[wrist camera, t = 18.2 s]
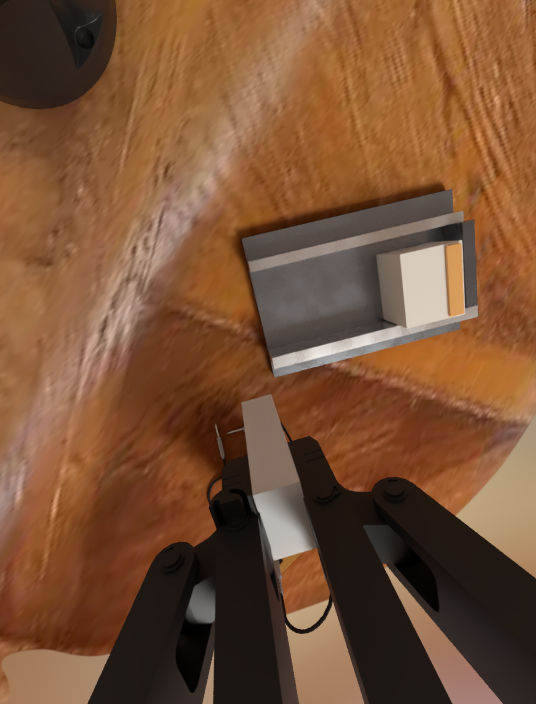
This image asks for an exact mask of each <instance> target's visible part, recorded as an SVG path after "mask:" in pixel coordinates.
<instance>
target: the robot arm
mask: <svg viewBox="0 0 536 704" xmlns="http://www.w3.org/2000/svg"><path fill="white" fill-rule="evenodd" d="M116 24H117V15H116V4H115V0H0V101H3V102H5V103H8V104H12V105H15V106H19V107H25V108H34V109H43V108H52V107H57V106H61V105H64V104H67V103H69V102H72V101H74V100H76V99H77V98H79V97H80V96H82V95H83V94H85V93H86V92H87V91H88V90H89V89H90V88H91V87H92V86H93V85H94V84H95V83H96V82H97V81H98V79H99V78H100V77H101V75H102V74H103V72H104V70H105V68H106V66H107V64H108V62H109V60H110V57H111V54H112V50H113V47H114V42H115V36H116ZM241 403H242V411H243V419H244V428H245V436H246V444H247V452H248V455H246V456H243V457H239V458H236V459H232V460H229V461H227V462H226V464H225V466H224V468H223V469H222V490H221V491H220V492H219V493H217V494H216V495H215V496H214V497H213V499H212V500H211V502H210V505H209V510H210V513H211V515H212V518H213V520H214V523H215V526H216V528H217V530H216V531H215V532H214V533H213V534H212V535H211V536H210V537H209V538H208V539H206V540H205V541H203V542H202V543H200V544H198V545H197V546H195V547H193V546H192V545H190V544H189V543H187V542H177V543H173V544H171V545H169V546H168V547H166V548H164V549H163V550H162V551H161V552H160V553H159V554H158V555H157V556H156V557H155V559H154V560H153V562H152V564H151V566H150V568H149V570H148V572H147V575H146V577H145V579H144V581H143V583H142V585H141V588H140V590H139V592H138V594H137V596H136V599H135V601H134V603H133V605H132V607H131V610H130V612H129V614H128V616H127V618H126V620H125V623H124V625H123V627H122V629H121V631H120V634H119V636H118V638H117V640H116V642H115V645H114V647H113V649H112V651H111V653H110V656H109V658H108V660H107V662H106V664H105V667H104V669H103V671H102V673H101V675H100V677H99V680H98V682H97V684H96V686H95V689H94V691H93V693H92V695H91V697H90V699H89V701H88V704H202V702H203V698H204V693H205V689H206V684H207V679H208V674H209V670H210V665H211V661H212V656H213V652H214V691H213V695H214V696H213V704H299V701H298V695H297V690H296V684H295V678H294V672H293V666H292V660H291V654H290V648H289V642H288V636H287V631H286V625H285V619H284V613H283V607H282V601H281V595H280V589H279V583H278V577H277V574H276V571H275V568H274V564H273V560H274V561H275V560H278V559H281V558H285V557H288V556H291V555H294V554H298V553H301V552H304V551H307V550H311V549H314V548H317V550H318V553H319V557H320V561H321V565H322V568H323V572H324V576H325V580H326V581H327V584H328V587H329V590H330V593H331V597H332V600H333V603H334V606H335V609H336V613H337V616H338V619H339V623H340V626H341V629H342V632H343V635H344V639H345V642H346V645H347V648H348V652H349V655H350V658H351V661H352V665H353V668H354V671H355V674H356V677H357V681H358V684H359V687H360V690H361V693H362V697H363V700H364V703H365V704H452V702H451V700H450V698H449V697H448V694H447V692H446V690H445V688H444V686H443V684H442V683H441V680H440V678H439V676H438V675H437V672H436V670H435V669H434V666H433V664H432V662H431V660H430V659H429V657H428V655H427V653H426V650H425V648H424V646H423V644H422V642H421V640H420V638H419V636H418V634H417V633H416V631H415V629H414V627H413V625H412V623H411V621H410V619H409V617H408V615H407V613H406V611H405V609H404V607H403V605H402V603H401V601H400V599H399V597H398V595H397V593H396V591H395V589H394V587H393V585H392V583H391V581H390V579H389V577H388V575H387V573H386V571H385V569H384V567H383V565H382V564H387V566H388V568H389V569H390V570H391V571H392V572H393V574H394V575H395V576H396V577H397V578H398V580H399V581H400V582H401V583H402V584H403V585H404V587H405V588H406V589H407V590H408V591H409V593H410V594H411V595H412V596H413V597H414V598H415V600H416V601H417V602H418V603H419V604H420V606H421V607H422V608H423V609H424V610H425V612H426V613H427V614H428V615H429V616H430V617H431V619H432V620H433V621H434V622H435V623H436V625H437V626H438V627H439V628H440V629H441V631H442V632H443V633H444V634H445V635H446V637H447V638H448V639H449V640H450V641H451V642H452V643H453V645H454V646H455V647H456V648H457V649H458V650H459V652H460V653H461V654H462V655H463V657H464V658H465V659H466V660H467V661H468V663H469V664H470V665H471V666H472V667H473V668H474V670H475V671H476V672H477V673H478V674H479V676H480V677H481V678H482V679H483V680H484V682H485V683H486V684H487V685H488V686H489V688H490V689H491V690H492V691H493V692H494V693H495V695H496V696H497V697H498V698H499V699H500V701H501V702H502V703H503V704H536V578H535V577H533V576H532V575H531V574H529V573H528V572H527V571H525V570H524V569H523V568H522V567H520V566H519V565H518V564H516V563H515V562H514V561H512V560H511V559H510V558H509V557H507V556H506V555H505V554H503V553H502V552H501V551H500V550H498V549H497V548H496V547H495V546H493V545H492V544H491V543H489V542H488V541H487V540H486V539H484V538H483V537H482V536H480V535H479V534H478V533H476V532H475V531H474V530H473V529H471V528H470V527H469V526H467V525H466V524H465V523H464V522H462V521H461V520H460V519H458V518H457V517H456V516H454V515H453V514H452V513H451V512H449V511H448V510H447V509H445V508H444V507H443V506H442V505H440V504H439V503H438V502H436V501H435V500H434V499H433V498H431V497H430V496H429V495H427V494H426V493H425V492H423V491H422V490H421V489H420V488H418V487H417V486H416V485H414V484H413V483H412V482H410V481H408V480H406V479H403V478H398V477H388V478H385V479H382V480H380V481H378V482H377V483H376V484H375V485H374V487H373V489H372V492H354V491H350V490H347V489H345V488H343V487H342V486H341V484H339V483H338V482H337V480H336V478H335V476H334V474H333V472H332V470H331V468H330V466H329V464H328V462H327V460H326V458H325V456H324V454H323V451H322V450H321V447H320V445H319V443H318V441H316V440H315V439H313V438H312V437H310V436H308V437H304V438H301V439H297V440H294V441H291V442H287V441H286V438H285V435H284V432H283V429H282V426H281V423H280V420H279V417H278V414H277V411H276V408H275V405H274V402H273V399H272V396H271V394H269V395H266V396H262V397H259V398H255V399H252V400H248V401H245V402H241ZM272 556H273V558H272Z"/></svg>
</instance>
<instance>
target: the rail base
mask: <svg viewBox="0 0 536 704" xmlns="http://www.w3.org/2000/svg"><path fill="white" fill-rule="evenodd" d="M241 240H242V244H243V248H244V253H245V257H246V261H247V265H248V270H249V274H250V278H251V282H252V286H253V291H254V295H255V299H256V303H257V307H258V312H259V316H260V320H261V324H262V329H263V333H264V337H265V341H266V345H267V350H268V354H269V358H270V362H271V366H272V371H273V375H274V377H278V376H282V375H286V374H290V373H293V372H297V371H301V370H305V369H309V368H313V367H317V366H320V365H324V364H328V363H332V362H336V361H340V360H343V359H347V358H351V357H355V356H359V355H363V354H367V353H370V352H374V351H378V350H382V349H386V348H390V347H393V346H397V345H401V344H405V343H409V342H413V341H417V340H420V339H424V338H428V337H432V336H436V335H440V334H443V333H447V332H451V331H455V330H459V329H460V321H463V320H467V319H471V318H474V317H478V305H477V280H476V255H475V230H474V220H468V221H464V219H463V211H458V212H453V198H452V189H450V190H446V191H442V192H438V193H433V194H429V195H425V196H421V197H416V198H412V199H408V200H404V201H399V202H395V203H391V204H387V205H383V206H378V207H374V208H370V209H366V210H361V211H357V212H353V213H349V214H344V215H340V216H336V217H332V218H327V219H323V220H319V221H315V222H310V223H306V224H302V225H298V226H293V227H289V228H285V229H281V230H276V231H272V232H268V233H264V234H259V235H255V236H251V237H247V238H242V239H241ZM457 240H462V248H463V272H464V296H465V314H464V315H460V316H456V317H452V318H448V319H444V320H440V321H436V322H432V323H428V324H424V325H420V326H416V327H412V328H408V329H407V328H404V327H402V326H399V325H397V324H394V323H392V322H389V321H387V320H384V318H383V310H382V301H381V292H380V284H379V275H378V266H377V258H376V255H377V254H381V253H386V252H390V251H394V250H399V249H403V248H407V247H412V246H416V245H420V244H424V243H429V242H440V241H457Z"/></svg>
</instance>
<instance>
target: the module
mask: <svg viewBox="0 0 536 704" xmlns="http://www.w3.org/2000/svg"><path fill="white" fill-rule="evenodd" d="M376 258H377V266H378V275H379V284H380V292H381V301H382V310H383V318H384V320H387V321H389V322H392V323H394V324H397V325H399V326H402V327H404V328H407V329H408V328H412V327H416V326H420V325H424V324H428V323H432V322H436V321H440V320H444V319H448V318H452V317H456V316H460V315H464V314H465V296H464V272H463V248H462V240H457V241H440V242H429V243H424V244H420V245H416V246H412V247H407V248H403V249H399V250H394V251H390V252H386V253H381V254H377V255H376Z"/></svg>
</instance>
